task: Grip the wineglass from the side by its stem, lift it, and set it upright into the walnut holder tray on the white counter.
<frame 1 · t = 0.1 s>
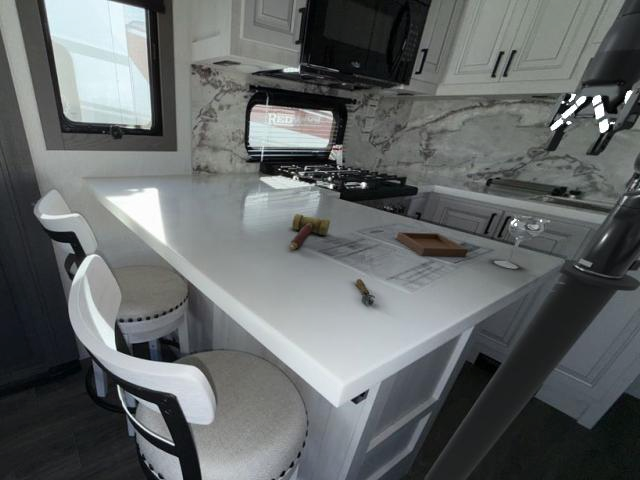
hand: (568, 153, 62), 26 cm above the worktop, tool pointing down, fingers open, 8 cm apart
holder: (428, 247, 86), on the worktop
gavel: (302, 240, 85), on the worktop
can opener: (362, 294, 60), on the worktop
wineglass: (505, 265, 78), on the worktop
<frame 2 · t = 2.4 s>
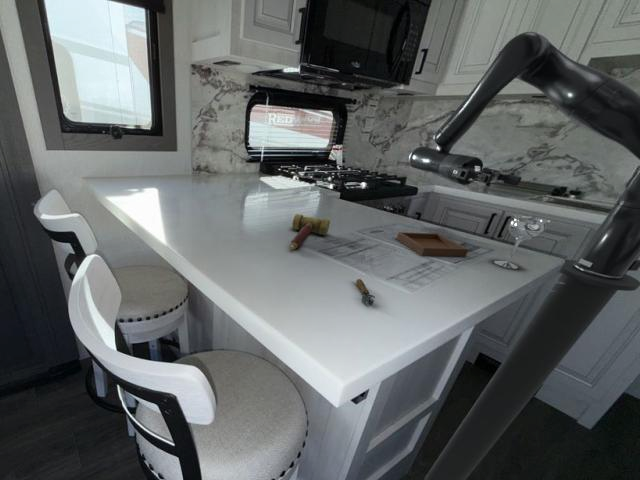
hand: (504, 180, 79), 18 cm above the worktop, tool horizontal, fingers open, 8 cm apart
nothing on the worktop moved.
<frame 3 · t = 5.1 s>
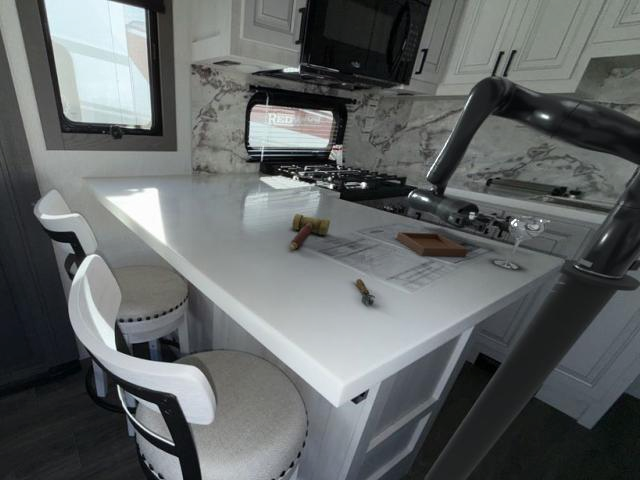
hand: (498, 228, 80), 7 cm above the worktop, tool horizontal, fingers open, 8 cm apart
nothing on the worktop moved.
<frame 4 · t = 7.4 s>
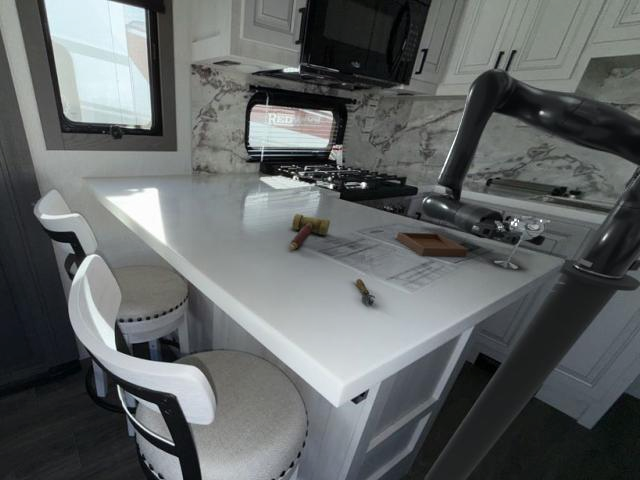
hand: (529, 241, 73), 7 cm above the worktop, tool horizontal, fingers closed on wineglass, 6 cm apart
wineglass: (505, 265, 78), on the worktop, touching gripper
everything else where it was.
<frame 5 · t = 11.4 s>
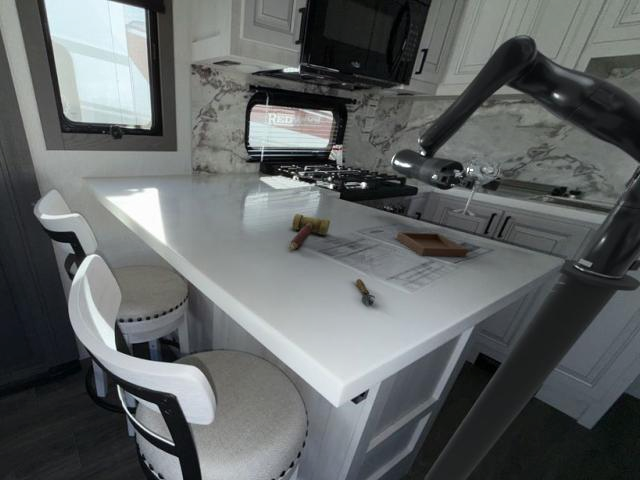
hand: (484, 185, 73), 18 cm above the worktop, tool horizontal, fingers closed on wineglass, 6 cm apart
wineglass: (463, 213, 79), point 10 cm above the worktop, touching gripper
everything else where it was.
when the fingers open (8 cm above the worktop, at t = 15.3 s): wineglass stays where it is, resting on holder.
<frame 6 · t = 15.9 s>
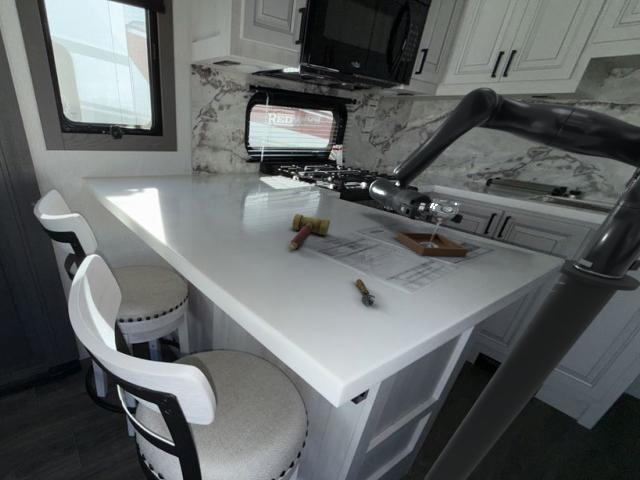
hand: (445, 219, 80), 9 cm above the worktop, tool horizontal, fingers open, 8 cm apart
wineglass: (429, 245, 86), resting on holder
everything else where it was.
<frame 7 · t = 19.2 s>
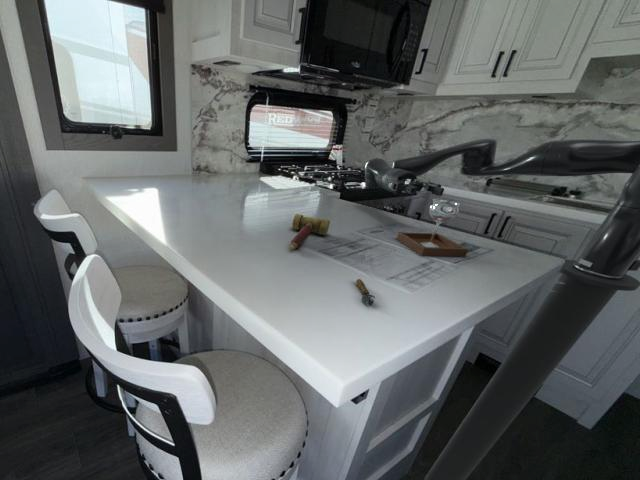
hand: (428, 191, 89), 13 cm above the worktop, tool horizontal, fingers open, 8 cm apart
nothing on the worktop moved.
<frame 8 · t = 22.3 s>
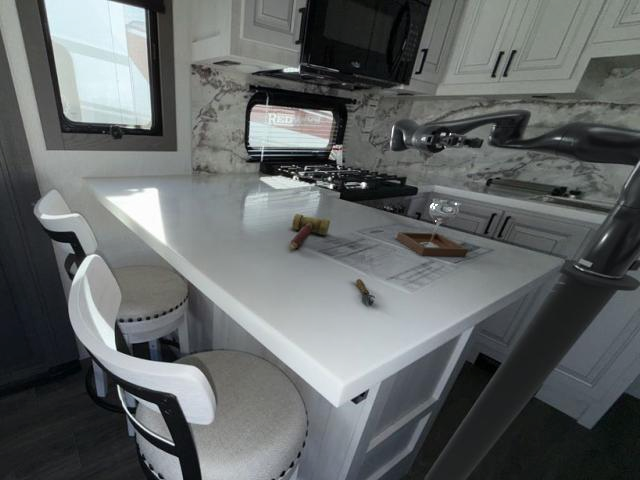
hand: (467, 142, 83), 26 cm above the worktop, tool horizontal, fingers open, 8 cm apart
nothing on the worktop moved.
at the end: wineglass 0.1 cm off-centre in the holder, point 0.4 cm above the holder's base; wineglass tilted 0°; the gripper is holding nothing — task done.
